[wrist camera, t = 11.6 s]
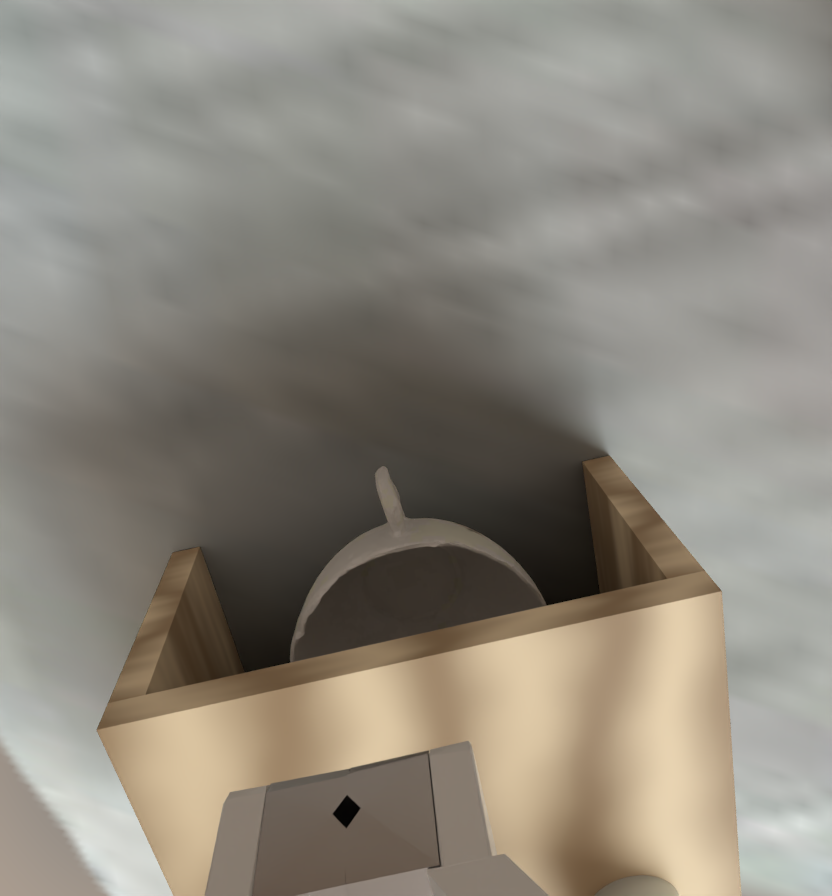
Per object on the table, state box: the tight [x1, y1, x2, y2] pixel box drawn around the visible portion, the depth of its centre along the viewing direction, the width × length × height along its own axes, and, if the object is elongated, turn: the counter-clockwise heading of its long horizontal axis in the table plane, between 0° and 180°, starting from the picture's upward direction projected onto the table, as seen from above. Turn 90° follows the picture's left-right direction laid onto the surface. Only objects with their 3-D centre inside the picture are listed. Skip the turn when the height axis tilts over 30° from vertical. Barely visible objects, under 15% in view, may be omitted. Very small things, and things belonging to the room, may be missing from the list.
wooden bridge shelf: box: [97, 456, 741, 896], centre depth 39 cm, size 24×20×14 cm
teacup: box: [290, 466, 547, 663], centre depth 39 cm, size 15×12×8 cm
